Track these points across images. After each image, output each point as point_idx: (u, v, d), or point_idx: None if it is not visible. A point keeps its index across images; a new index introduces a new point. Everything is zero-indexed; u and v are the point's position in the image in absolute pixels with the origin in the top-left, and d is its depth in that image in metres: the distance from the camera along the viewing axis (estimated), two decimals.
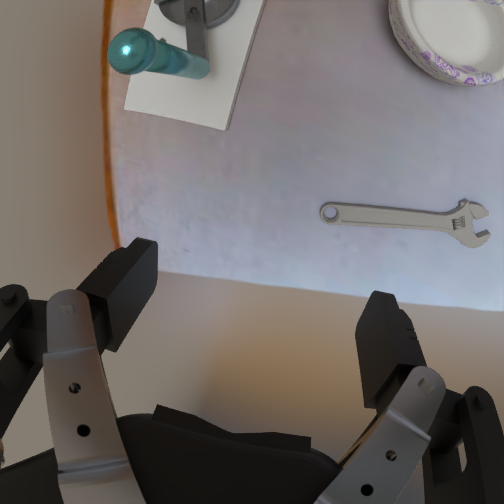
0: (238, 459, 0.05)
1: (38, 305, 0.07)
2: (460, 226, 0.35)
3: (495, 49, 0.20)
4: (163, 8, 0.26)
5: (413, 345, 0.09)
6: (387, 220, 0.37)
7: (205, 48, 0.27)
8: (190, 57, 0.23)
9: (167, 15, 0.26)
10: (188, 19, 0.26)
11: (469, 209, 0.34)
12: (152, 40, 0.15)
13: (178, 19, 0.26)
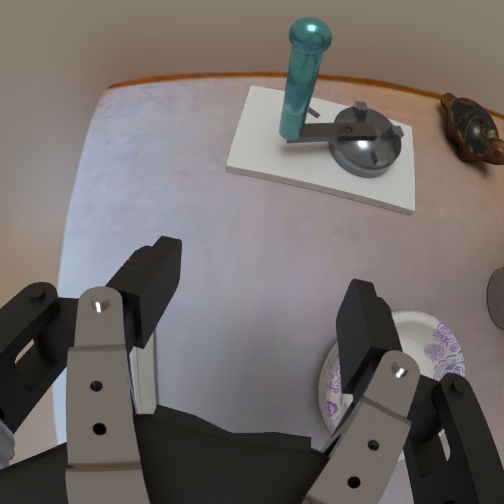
0: (238, 459, 0.05)
1: (67, 302, 0.08)
2: None
3: None
4: (350, 109, 0.35)
5: (390, 331, 0.09)
6: None
7: (310, 137, 0.33)
8: (302, 107, 0.27)
9: (343, 112, 0.35)
10: (339, 125, 0.33)
11: None
12: (320, 45, 0.19)
13: (338, 120, 0.35)
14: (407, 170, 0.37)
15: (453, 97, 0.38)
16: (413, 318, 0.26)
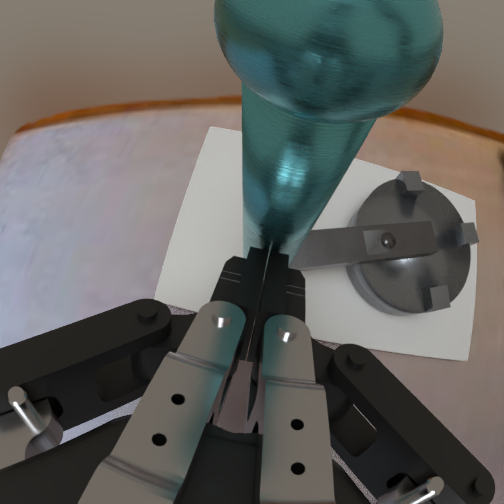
0: (238, 459, 0.05)
1: (175, 319, 0.08)
2: None
3: None
4: (390, 186, 0.19)
5: (296, 301, 0.10)
6: None
7: (309, 266, 0.16)
8: (290, 246, 0.11)
9: (377, 194, 0.19)
10: (370, 231, 0.17)
11: None
12: (393, 78, 0.03)
13: (368, 212, 0.18)
14: (466, 288, 0.21)
15: None
16: None
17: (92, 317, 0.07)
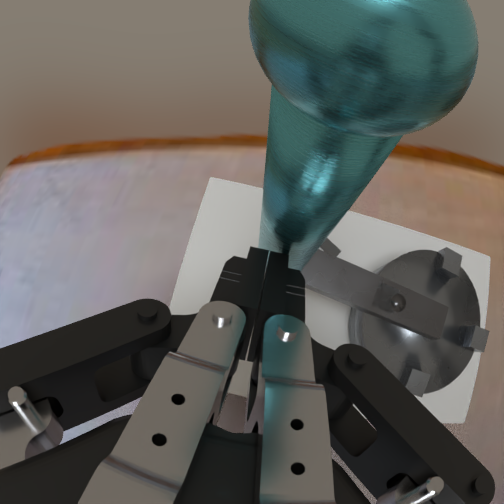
0: (238, 459, 0.05)
1: (175, 319, 0.08)
2: None
3: None
4: (429, 256, 0.17)
5: (296, 300, 0.10)
6: None
7: (312, 286, 0.16)
8: (290, 249, 0.11)
9: (413, 256, 0.17)
10: (386, 286, 0.16)
11: None
12: (370, 84, 0.03)
13: (395, 268, 0.17)
14: None
15: None
16: None
17: (92, 317, 0.07)
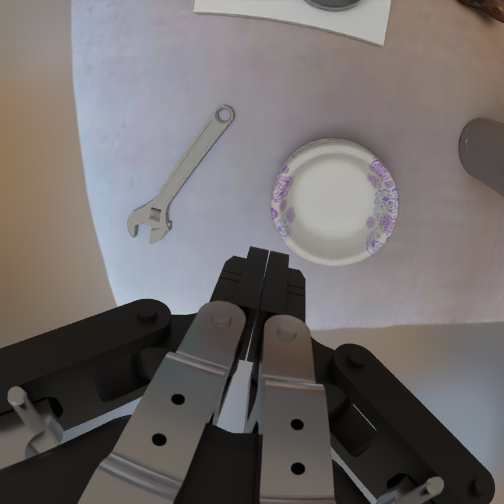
0: (238, 459, 0.05)
1: (174, 320, 0.08)
2: (151, 214, 0.46)
3: (320, 243, 0.39)
4: None
5: (296, 300, 0.10)
6: (189, 156, 0.41)
7: None
8: None
9: None
10: None
11: (161, 228, 0.47)
12: None
13: None
14: (381, 5, 0.27)
15: None
16: (347, 151, 0.31)
17: (92, 317, 0.07)
